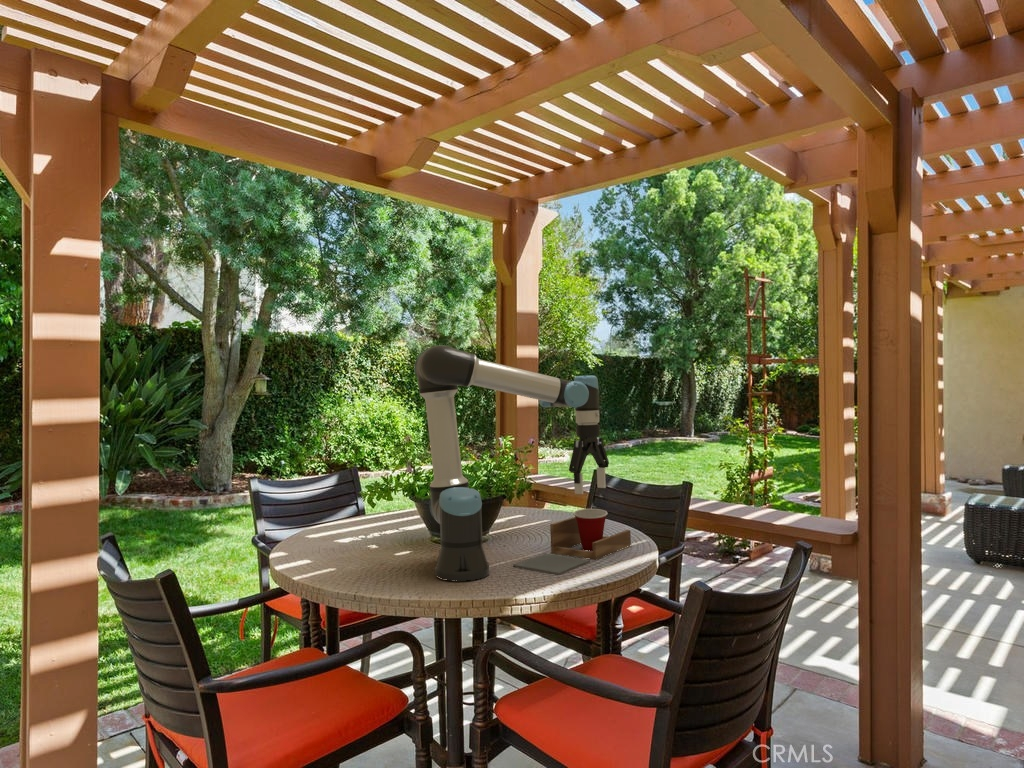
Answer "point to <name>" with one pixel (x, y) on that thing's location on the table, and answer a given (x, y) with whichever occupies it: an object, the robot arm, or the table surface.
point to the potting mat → (551, 563)
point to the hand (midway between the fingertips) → (590, 490)
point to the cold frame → (568, 536)
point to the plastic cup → (590, 526)
